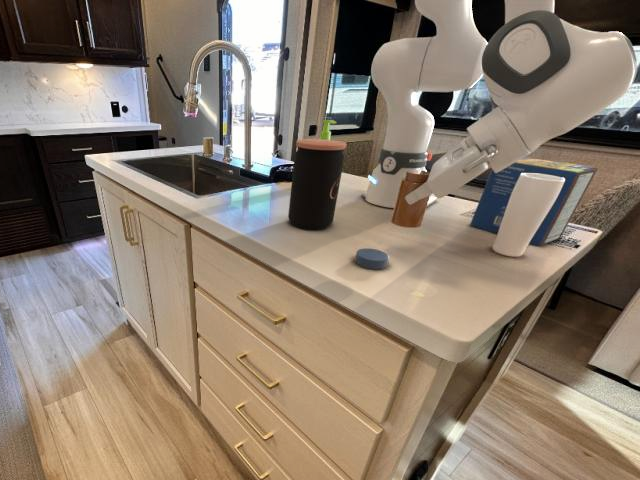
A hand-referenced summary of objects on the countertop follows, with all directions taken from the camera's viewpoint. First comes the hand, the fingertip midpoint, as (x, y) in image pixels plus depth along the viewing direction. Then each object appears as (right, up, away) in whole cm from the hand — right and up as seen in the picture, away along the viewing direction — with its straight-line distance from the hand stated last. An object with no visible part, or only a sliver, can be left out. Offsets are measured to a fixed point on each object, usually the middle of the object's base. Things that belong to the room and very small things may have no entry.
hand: (409, 196), depth 63 cm
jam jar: (0, -4, +2) cm, 5 cm away
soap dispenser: (-4, +21, +55) cm, 59 cm away
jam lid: (-7, -11, 0) cm, 13 cm away
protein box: (+33, -3, +18) cm, 38 cm away
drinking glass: (+23, -10, +6) cm, 26 cm away
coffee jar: (-15, -1, +19) cm, 24 cm away
